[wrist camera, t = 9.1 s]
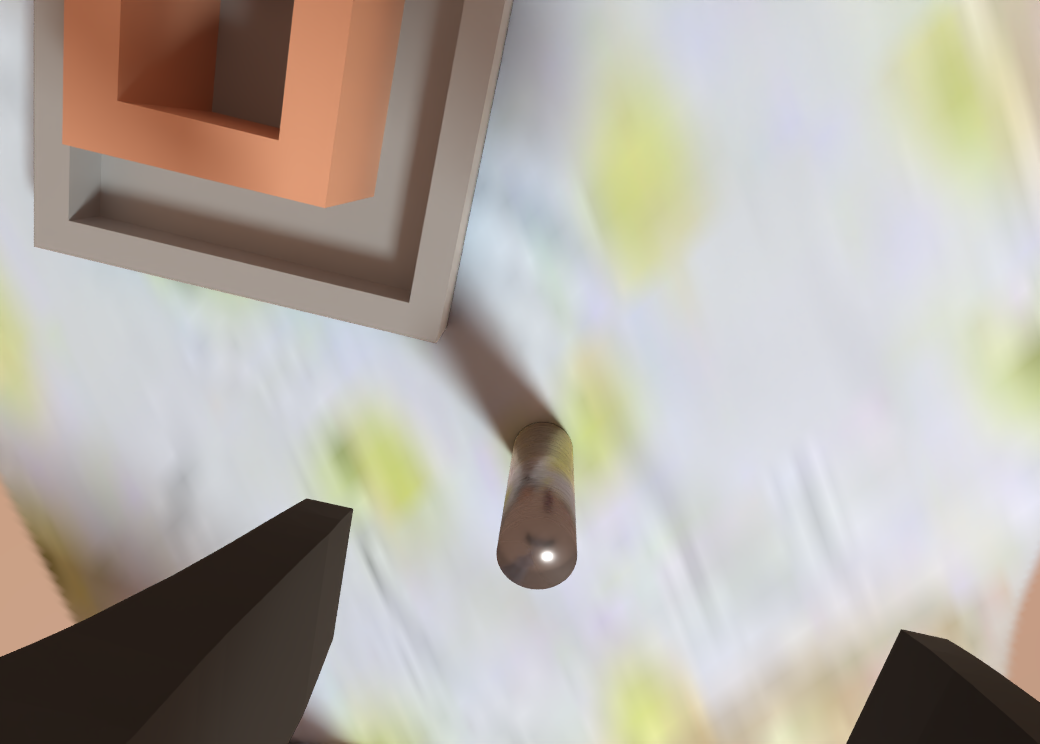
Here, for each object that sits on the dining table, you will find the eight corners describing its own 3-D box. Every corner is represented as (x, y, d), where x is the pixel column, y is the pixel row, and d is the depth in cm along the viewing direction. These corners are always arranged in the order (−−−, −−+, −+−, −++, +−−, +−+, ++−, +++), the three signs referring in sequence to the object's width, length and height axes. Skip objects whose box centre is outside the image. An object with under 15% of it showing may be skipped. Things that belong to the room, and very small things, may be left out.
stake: (564, 482, 18) (565, 597, 14) (507, 469, 18) (488, 578, 14) (579, 429, 18) (585, 530, 13) (520, 416, 18) (506, 511, 13)
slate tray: (446, 327, 17) (436, 343, 16) (78, 238, 17) (33, 246, 16) (545, -156, 14) (543, -191, 12) (88, -273, 14) (34, -322, 12)
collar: (373, 196, 16) (324, 208, 13) (166, 146, 16) (62, 144, 13) (419, -93, 14) (376, -168, 11) (184, -152, 14) (67, -246, 11)
